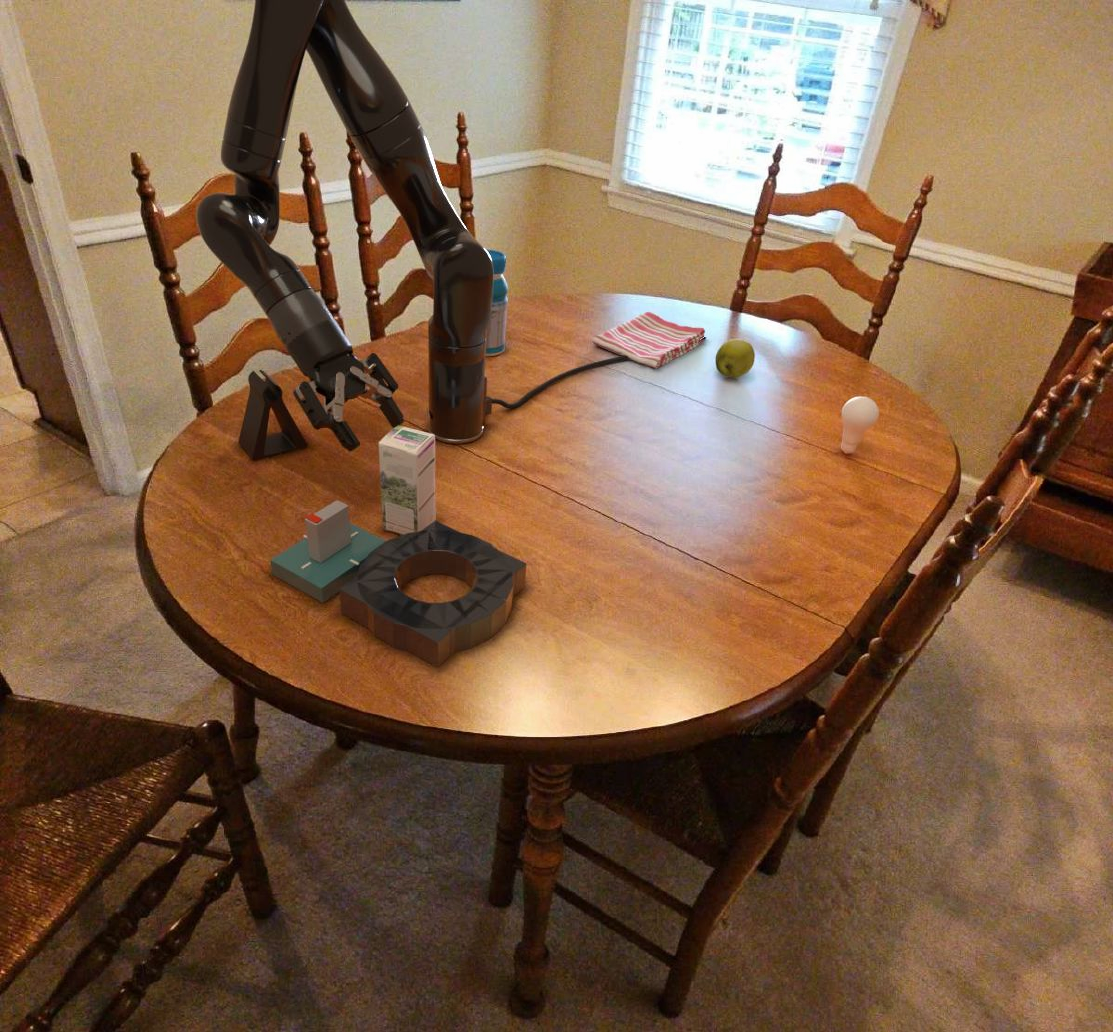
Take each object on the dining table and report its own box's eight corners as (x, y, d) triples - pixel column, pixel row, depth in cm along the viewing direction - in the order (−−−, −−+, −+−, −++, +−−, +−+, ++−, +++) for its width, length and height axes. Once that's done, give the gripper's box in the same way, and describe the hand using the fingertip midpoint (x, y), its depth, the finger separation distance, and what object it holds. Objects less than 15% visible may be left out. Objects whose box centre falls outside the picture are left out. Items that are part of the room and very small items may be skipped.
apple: (755, 374, 165) (764, 339, 160) (740, 388, 158) (749, 352, 154) (721, 364, 168) (729, 329, 163) (705, 377, 161) (713, 341, 157)
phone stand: (252, 461, 120) (241, 391, 113) (238, 444, 123) (227, 375, 116) (307, 447, 124) (300, 379, 118) (293, 431, 128) (285, 364, 121)
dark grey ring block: (426, 536, 108) (426, 513, 106) (539, 591, 101) (542, 567, 98) (326, 609, 94) (323, 584, 92) (448, 678, 87) (449, 653, 84)
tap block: (338, 530, 107) (337, 514, 106) (391, 557, 103) (390, 541, 102) (270, 573, 99) (267, 557, 97) (325, 604, 95) (323, 588, 93)
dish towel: (705, 342, 178) (708, 327, 176) (655, 371, 161) (657, 355, 159) (642, 320, 185) (645, 306, 183) (588, 346, 169) (590, 331, 167)
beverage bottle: (503, 359, 159) (509, 262, 148) (463, 355, 159) (465, 258, 148) (506, 343, 166) (511, 250, 155) (467, 340, 166) (469, 246, 155)
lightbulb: (865, 450, 141) (885, 396, 135) (861, 465, 136) (882, 409, 130) (831, 441, 143) (849, 387, 136) (826, 455, 138) (845, 400, 132)
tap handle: (340, 537, 102) (337, 498, 98) (351, 542, 101) (348, 503, 98) (309, 557, 98) (304, 517, 94) (320, 563, 97) (316, 523, 94)
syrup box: (436, 519, 111) (437, 432, 103) (417, 542, 107) (416, 452, 98) (401, 509, 113) (398, 422, 104) (381, 531, 108) (376, 441, 100)
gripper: (279, 334, 95) (354, 446, 97) (361, 305, 105) (427, 407, 107) (255, 361, 100) (326, 467, 102) (336, 332, 110) (399, 428, 112)
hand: (378, 436), depth 104 cm, fingers open, 8 cm apart
